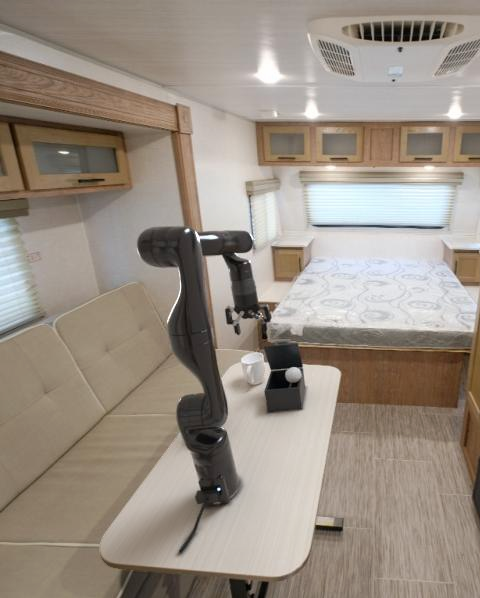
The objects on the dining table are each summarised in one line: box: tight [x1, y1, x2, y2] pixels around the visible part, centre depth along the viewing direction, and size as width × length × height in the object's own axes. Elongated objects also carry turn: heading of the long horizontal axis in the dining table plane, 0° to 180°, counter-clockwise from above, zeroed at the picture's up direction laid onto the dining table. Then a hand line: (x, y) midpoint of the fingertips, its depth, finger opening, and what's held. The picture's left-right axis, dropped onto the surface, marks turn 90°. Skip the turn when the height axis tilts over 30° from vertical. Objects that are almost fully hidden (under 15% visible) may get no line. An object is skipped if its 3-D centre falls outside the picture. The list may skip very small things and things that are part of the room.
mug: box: [240, 351, 266, 386], centre depth 144 cm, size 12×9×12 cm
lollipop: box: [285, 367, 302, 388], centre depth 132 cm, size 6×6×15 cm
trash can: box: [263, 367, 306, 413], centre depth 134 cm, size 14×13×10 cm
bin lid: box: [262, 338, 304, 371], centre depth 135 cm, size 14×13×5 cm
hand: (251, 333), depth 120 cm, fingers open, 8 cm apart
